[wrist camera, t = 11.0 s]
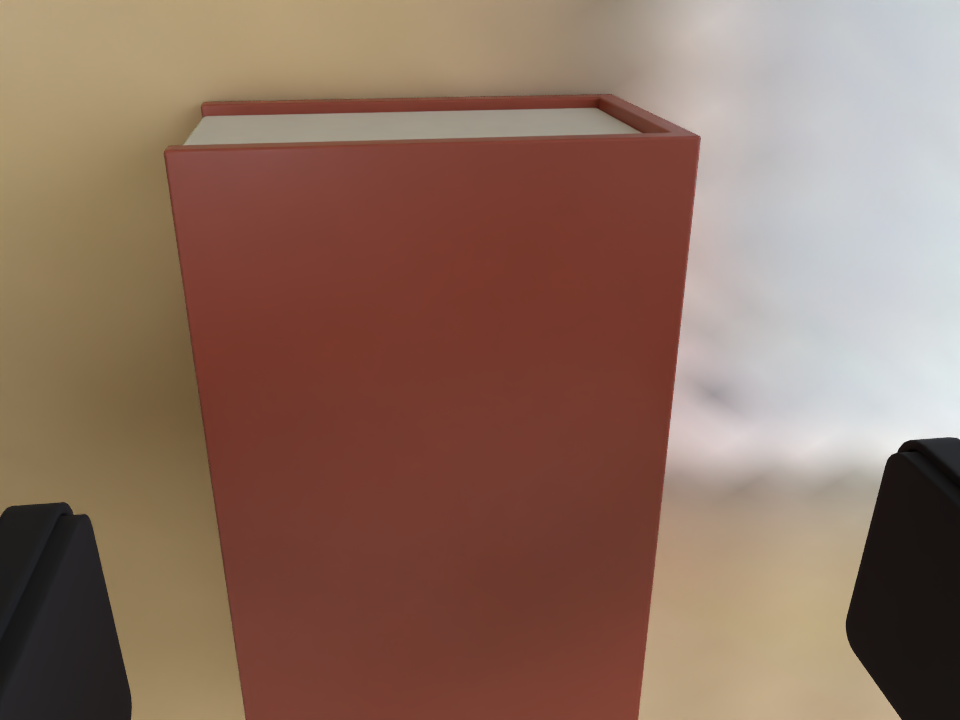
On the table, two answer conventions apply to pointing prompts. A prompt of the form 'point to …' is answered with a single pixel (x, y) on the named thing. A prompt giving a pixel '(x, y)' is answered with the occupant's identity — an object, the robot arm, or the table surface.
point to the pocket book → (436, 394)
